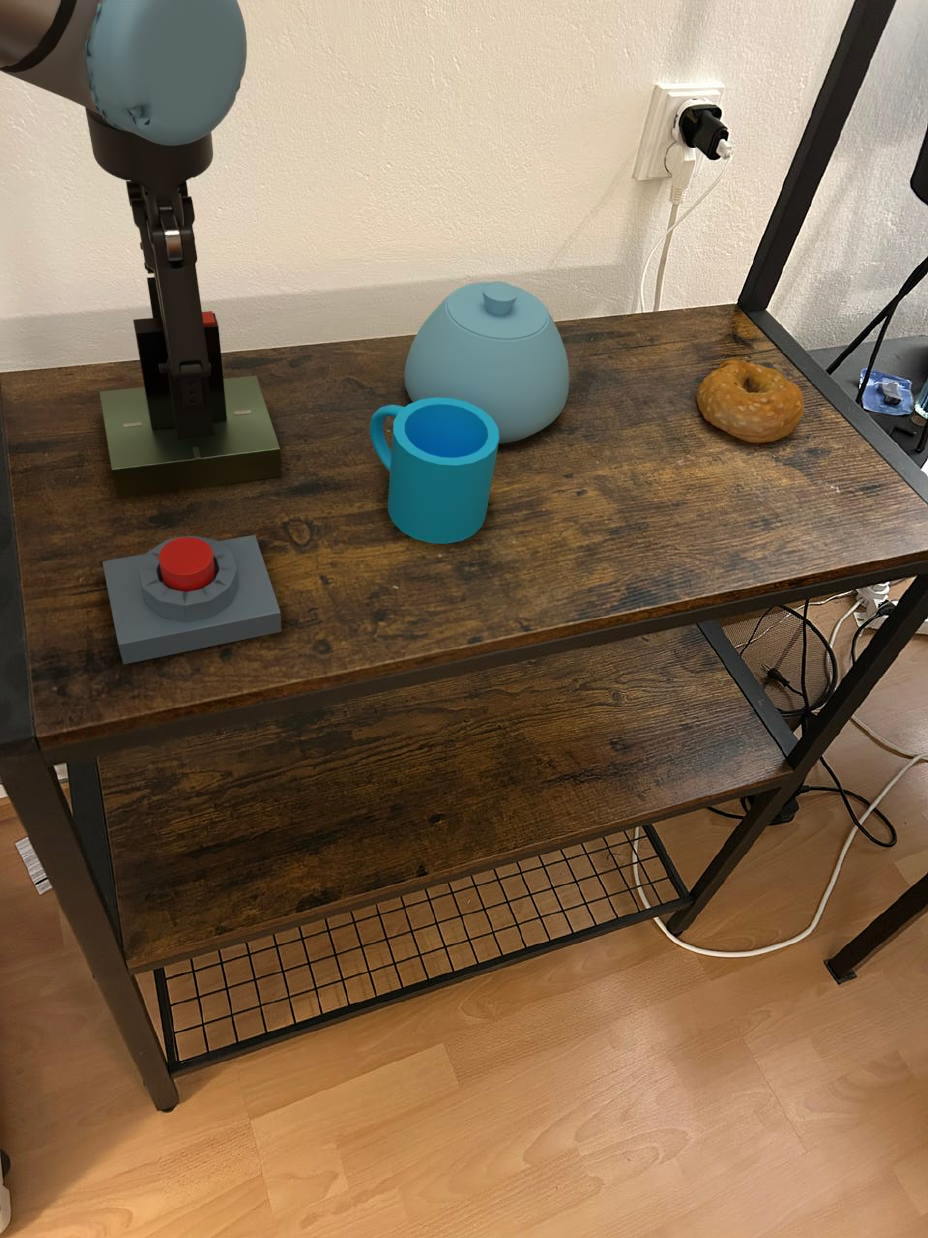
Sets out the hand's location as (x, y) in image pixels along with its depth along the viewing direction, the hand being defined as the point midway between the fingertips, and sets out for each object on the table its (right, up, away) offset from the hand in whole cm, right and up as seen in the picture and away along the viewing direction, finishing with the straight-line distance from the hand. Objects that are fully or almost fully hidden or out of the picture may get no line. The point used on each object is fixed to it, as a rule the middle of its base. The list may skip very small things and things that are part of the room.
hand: (184, 390), depth 77 cm
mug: (+19, -8, +4) cm, 21 cm away
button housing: (+3, -17, -7) cm, 19 cm away
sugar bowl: (+24, +2, +13) cm, 28 cm away
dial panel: (-1, -4, +4) cm, 6 cm away
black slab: (0, -2, +2) cm, 3 cm away
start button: (+3, -15, -9) cm, 18 cm away
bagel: (+49, +1, +16) cm, 52 cm away
